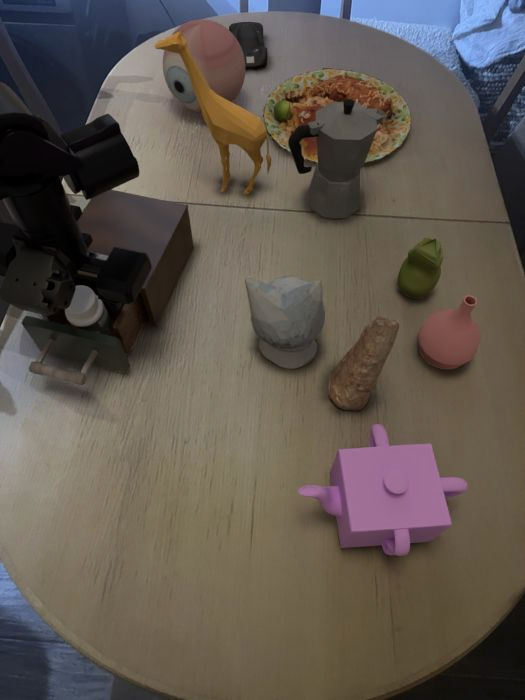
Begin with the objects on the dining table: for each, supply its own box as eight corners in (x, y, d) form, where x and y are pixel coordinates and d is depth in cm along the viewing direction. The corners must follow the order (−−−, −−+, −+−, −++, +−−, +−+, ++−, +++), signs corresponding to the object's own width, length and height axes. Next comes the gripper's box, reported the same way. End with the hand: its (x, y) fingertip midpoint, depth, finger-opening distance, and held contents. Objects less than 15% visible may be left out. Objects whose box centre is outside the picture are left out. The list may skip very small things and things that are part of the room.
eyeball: (153, 114, 99) (138, 32, 86) (196, 76, 106) (188, -6, 93) (220, 139, 95) (214, 57, 82) (260, 97, 102) (260, 16, 89)
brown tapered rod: (341, 420, 66) (379, 400, 68) (387, 365, 50) (435, 341, 52) (316, 380, 68) (353, 361, 70) (352, 314, 52) (399, 292, 54)
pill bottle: (75, 343, 69) (52, 313, 61) (86, 312, 71) (65, 279, 63) (109, 349, 69) (90, 319, 61) (119, 318, 71) (102, 286, 63)
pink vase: (401, 339, 72) (425, 285, 62) (448, 323, 74) (479, 268, 63) (430, 385, 68) (460, 335, 58) (479, 367, 70) (517, 316, 60)
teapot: (299, 573, 56) (306, 555, 47) (287, 451, 63) (291, 417, 55) (461, 561, 57) (497, 541, 48) (431, 442, 64) (457, 407, 56)
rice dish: (368, 195, 89) (375, 169, 84) (234, 135, 96) (234, 108, 91) (429, 112, 102) (438, 85, 97) (307, 64, 108) (310, 37, 103)
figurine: (328, 328, 73) (343, 256, 60) (307, 380, 69) (318, 314, 56) (264, 307, 75) (265, 233, 62) (239, 356, 71) (235, 287, 58)
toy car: (232, 71, 107) (232, 50, 103) (228, 33, 115) (227, 12, 111) (268, 70, 107) (268, 48, 104) (261, 32, 115) (261, 11, 111)
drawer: (111, 406, 65) (97, 380, 60) (22, 382, 67) (-1, 355, 61) (167, 290, 75) (159, 258, 70) (88, 271, 77) (74, 239, 71)
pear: (437, 287, 77) (459, 240, 69) (421, 311, 75) (442, 265, 66) (403, 271, 79) (420, 223, 70) (387, 293, 76) (403, 246, 68)
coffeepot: (356, 174, 90) (376, 73, 75) (381, 210, 86) (407, 110, 70) (274, 195, 88) (277, 94, 72) (295, 233, 83) (303, 134, 68)
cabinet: (156, 327, 73) (145, 288, 66) (67, 306, 75) (46, 266, 67) (194, 247, 81) (187, 205, 74) (113, 230, 83) (98, 186, 75)
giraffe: (173, 188, 88) (146, 35, 67) (181, 171, 91) (157, 18, 69) (268, 201, 87) (270, 49, 65) (272, 184, 89) (277, 31, 68)
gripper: (-86, 251, 50) (-14, 339, 63) (92, 293, 47) (128, 375, 61) (-22, 176, 55) (32, 272, 69) (140, 210, 53) (163, 302, 66)
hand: (86, 305), depth 66 cm, fingers open, 8 cm apart
